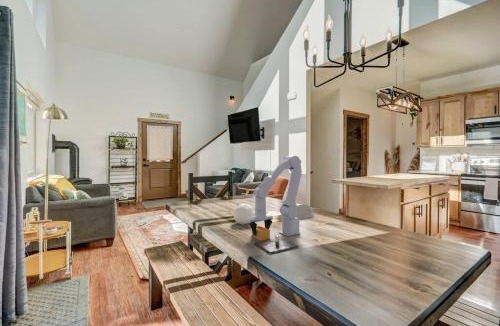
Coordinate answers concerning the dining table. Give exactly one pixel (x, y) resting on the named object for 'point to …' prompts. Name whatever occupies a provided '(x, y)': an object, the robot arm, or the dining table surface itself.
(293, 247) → the keeper plate
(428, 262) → the dining table surface
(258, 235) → the orange hollow rectangular block
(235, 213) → the geodesic sphere
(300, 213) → the grey stone
